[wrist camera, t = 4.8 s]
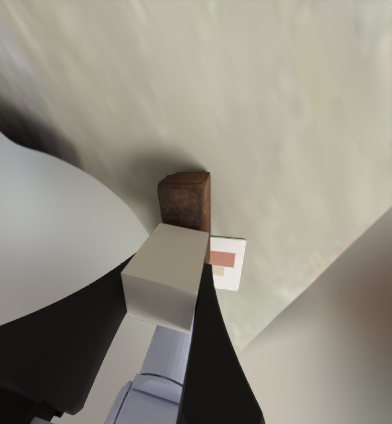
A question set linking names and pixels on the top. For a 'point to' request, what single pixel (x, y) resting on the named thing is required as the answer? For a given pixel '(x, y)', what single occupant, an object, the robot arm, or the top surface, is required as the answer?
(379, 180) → the top surface
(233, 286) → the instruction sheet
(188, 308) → the cream block
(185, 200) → the brick
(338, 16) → the top surface
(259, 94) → the top surface
